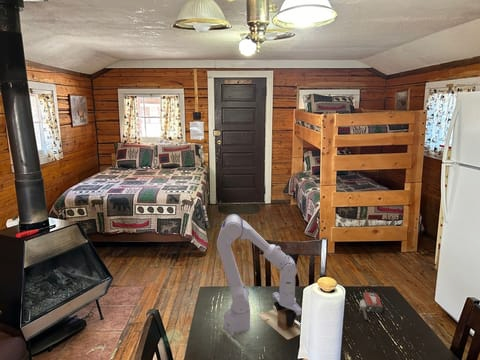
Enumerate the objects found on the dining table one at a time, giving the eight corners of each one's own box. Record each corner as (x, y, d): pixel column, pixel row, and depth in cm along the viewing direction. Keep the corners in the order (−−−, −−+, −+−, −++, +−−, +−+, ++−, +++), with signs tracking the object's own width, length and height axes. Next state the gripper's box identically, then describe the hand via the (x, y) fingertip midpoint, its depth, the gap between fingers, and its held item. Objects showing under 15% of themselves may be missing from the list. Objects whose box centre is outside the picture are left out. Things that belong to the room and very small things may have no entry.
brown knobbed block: (281, 332, 130) (281, 317, 129) (274, 326, 133) (274, 312, 132) (297, 325, 134) (298, 310, 133) (290, 319, 138) (291, 305, 137)
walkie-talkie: (356, 296, 159) (363, 322, 140) (357, 287, 158) (364, 312, 139) (377, 298, 157) (386, 324, 138) (378, 289, 156) (387, 314, 137)
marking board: (287, 343, 126) (287, 335, 126) (257, 318, 141) (257, 311, 140) (306, 334, 131) (306, 327, 130) (275, 311, 146) (275, 304, 145)
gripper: (308, 295, 127) (307, 329, 130) (282, 279, 139) (281, 310, 142) (294, 301, 123) (292, 335, 126) (268, 284, 135) (267, 316, 138)
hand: (286, 323), depth 134 cm, fingers closed on brown knobbed block, 4 cm apart
